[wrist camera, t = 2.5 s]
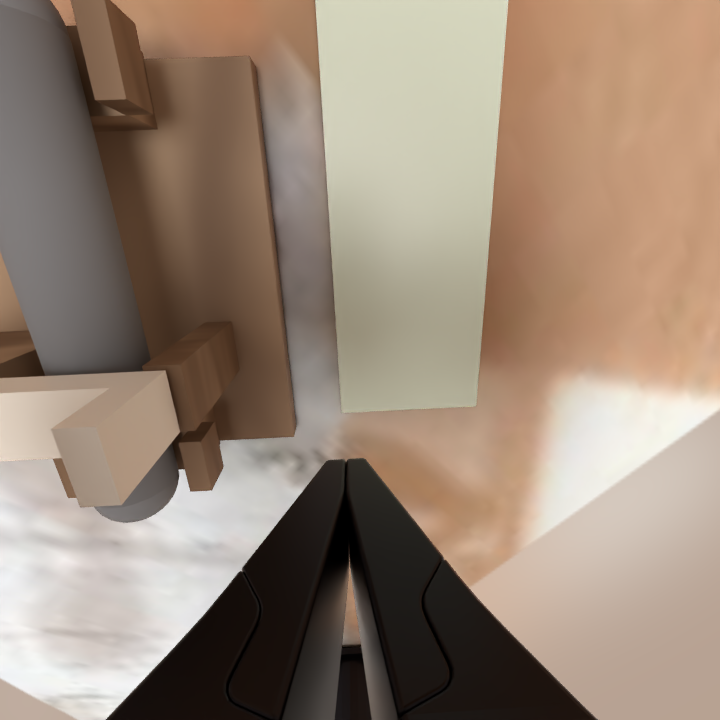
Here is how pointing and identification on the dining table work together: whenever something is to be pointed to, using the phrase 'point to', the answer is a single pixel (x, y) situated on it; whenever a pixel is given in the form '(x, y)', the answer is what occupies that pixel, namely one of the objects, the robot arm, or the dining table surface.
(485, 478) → the dining table surface
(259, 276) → the cradle
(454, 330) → the mat
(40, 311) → the grey rod
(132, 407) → the beige wooden bar
